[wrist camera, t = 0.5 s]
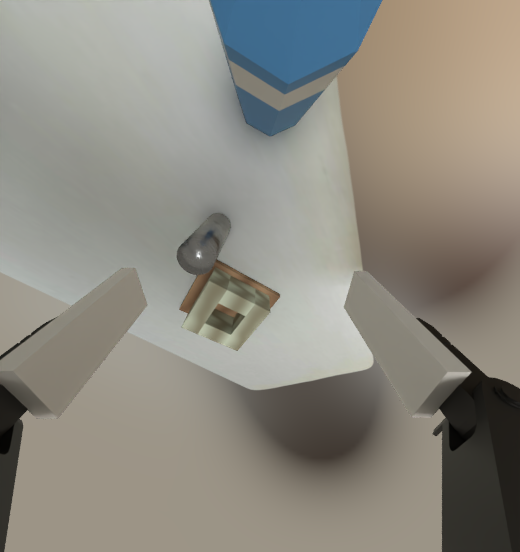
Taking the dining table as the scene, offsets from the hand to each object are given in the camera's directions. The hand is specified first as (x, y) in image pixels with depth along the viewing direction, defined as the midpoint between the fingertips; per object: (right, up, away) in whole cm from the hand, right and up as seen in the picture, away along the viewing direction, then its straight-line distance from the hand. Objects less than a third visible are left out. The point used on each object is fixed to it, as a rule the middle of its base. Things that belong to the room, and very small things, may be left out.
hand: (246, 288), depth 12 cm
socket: (-6, -4, +29) cm, 30 cm away
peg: (-6, +9, +21) cm, 24 cm away
